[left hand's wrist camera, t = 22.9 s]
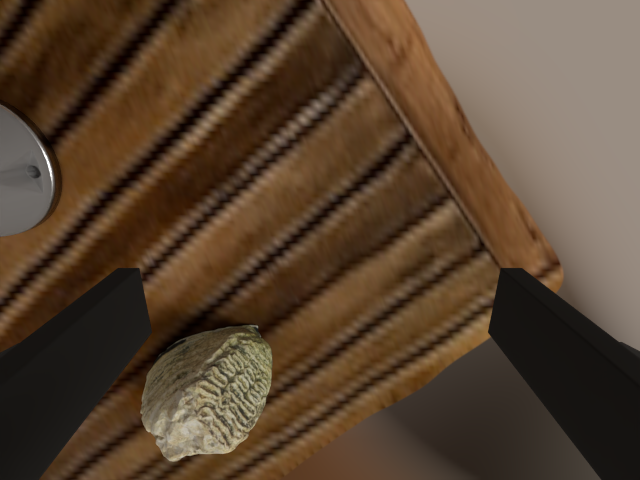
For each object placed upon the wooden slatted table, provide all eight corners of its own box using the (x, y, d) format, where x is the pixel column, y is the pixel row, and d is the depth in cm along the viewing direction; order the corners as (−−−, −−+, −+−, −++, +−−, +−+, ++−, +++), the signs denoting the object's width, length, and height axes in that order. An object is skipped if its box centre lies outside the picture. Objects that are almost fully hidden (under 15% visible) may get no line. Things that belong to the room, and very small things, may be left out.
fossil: (289, 342, 46) (276, 443, 32) (185, 402, 50) (132, 515, 36) (248, 294, 44) (215, 379, 30) (142, 360, 47) (67, 465, 33)
